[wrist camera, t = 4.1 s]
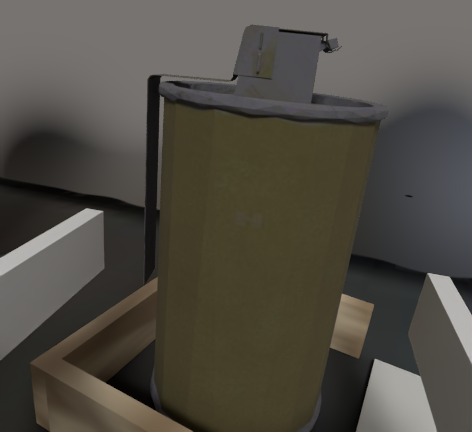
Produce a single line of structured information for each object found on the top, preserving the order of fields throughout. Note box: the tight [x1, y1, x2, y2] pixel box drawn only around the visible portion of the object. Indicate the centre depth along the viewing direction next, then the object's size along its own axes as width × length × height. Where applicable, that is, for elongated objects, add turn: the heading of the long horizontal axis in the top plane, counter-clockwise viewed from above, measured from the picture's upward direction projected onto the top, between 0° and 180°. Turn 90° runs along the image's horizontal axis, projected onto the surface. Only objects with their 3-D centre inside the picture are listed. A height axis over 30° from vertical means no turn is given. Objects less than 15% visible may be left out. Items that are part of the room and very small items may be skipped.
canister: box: [144, 25, 388, 432], centre depth 21 cm, size 11×10×20 cm
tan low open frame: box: [30, 277, 374, 432], centre depth 24 cm, size 14×16×4 cm
